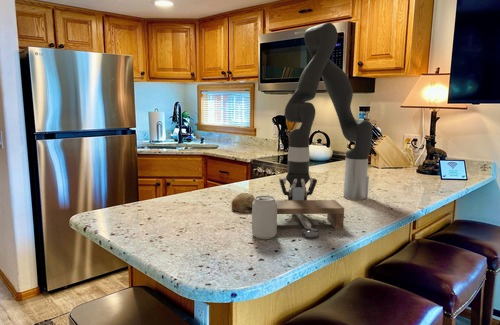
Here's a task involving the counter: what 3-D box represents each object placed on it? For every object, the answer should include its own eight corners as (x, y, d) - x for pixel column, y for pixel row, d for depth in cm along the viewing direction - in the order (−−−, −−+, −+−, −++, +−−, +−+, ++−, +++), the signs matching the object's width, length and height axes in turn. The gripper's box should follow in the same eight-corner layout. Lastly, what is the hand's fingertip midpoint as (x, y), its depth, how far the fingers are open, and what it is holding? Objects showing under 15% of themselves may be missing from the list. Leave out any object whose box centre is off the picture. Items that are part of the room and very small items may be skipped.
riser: (333, 219, 128) (334, 200, 127) (343, 229, 118) (344, 208, 117) (265, 220, 126) (265, 200, 125) (268, 230, 116) (269, 208, 115)
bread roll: (236, 222, 135) (240, 205, 131) (225, 204, 143) (229, 187, 139) (259, 218, 140) (264, 202, 136) (248, 201, 147) (252, 185, 143)
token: (316, 233, 114) (317, 228, 114) (320, 239, 109) (320, 233, 109) (300, 233, 114) (301, 228, 114) (303, 239, 109) (304, 233, 109)
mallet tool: (301, 211, 135) (302, 185, 134) (315, 231, 115) (316, 200, 113) (290, 211, 135) (291, 185, 134) (302, 231, 114) (303, 200, 113)
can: (250, 231, 114) (251, 194, 113) (274, 231, 115) (275, 194, 113) (252, 240, 107) (253, 200, 105) (278, 240, 108) (279, 200, 106)
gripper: (315, 157, 134) (313, 203, 137) (277, 157, 133) (276, 203, 136) (321, 160, 127) (319, 208, 130) (280, 161, 126) (279, 209, 129)
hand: (297, 205), depth 133 cm, fingers closed on mallet tool, 4 cm apart
